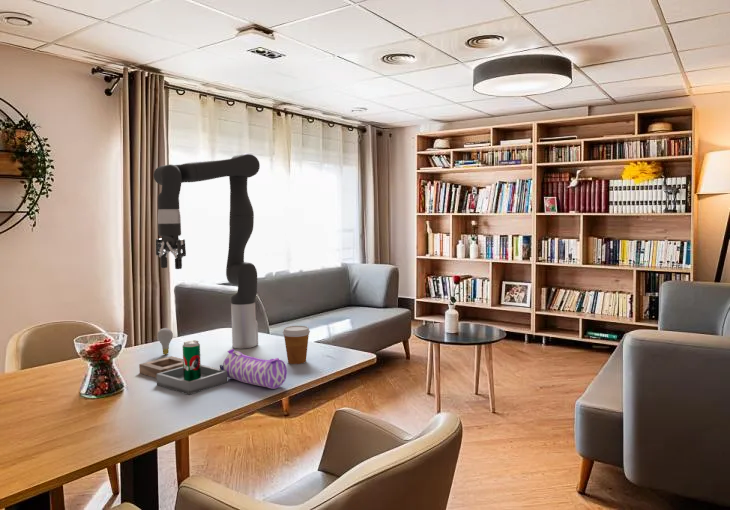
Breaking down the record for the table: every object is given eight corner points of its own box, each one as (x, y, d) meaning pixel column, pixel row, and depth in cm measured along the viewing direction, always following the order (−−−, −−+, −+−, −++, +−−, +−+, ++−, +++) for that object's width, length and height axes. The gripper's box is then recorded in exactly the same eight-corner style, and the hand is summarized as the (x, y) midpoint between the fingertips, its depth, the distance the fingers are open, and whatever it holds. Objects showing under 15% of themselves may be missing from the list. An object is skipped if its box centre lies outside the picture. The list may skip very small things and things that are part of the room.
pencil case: (219, 380, 168) (218, 351, 167) (242, 373, 175) (241, 345, 175) (268, 394, 155) (267, 361, 154) (291, 385, 162) (290, 354, 161)
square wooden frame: (171, 364, 186) (171, 356, 186) (193, 370, 179) (192, 361, 179) (139, 373, 176) (139, 364, 176) (161, 379, 169) (160, 370, 169)
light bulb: (176, 353, 201) (175, 327, 201) (165, 357, 196) (164, 330, 196) (165, 352, 204) (164, 326, 203) (154, 355, 199) (153, 328, 198)
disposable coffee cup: (278, 364, 185) (277, 329, 184) (292, 357, 194) (291, 324, 193) (302, 366, 182) (301, 331, 181) (315, 359, 190) (314, 326, 190)
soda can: (203, 378, 167) (202, 340, 166) (196, 383, 162) (195, 344, 161) (188, 377, 168) (186, 339, 167) (180, 382, 163) (179, 343, 162)
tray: (195, 373, 175) (195, 363, 175) (227, 382, 166) (227, 371, 165) (156, 385, 164) (156, 373, 164) (189, 394, 154) (188, 382, 154)
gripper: (191, 222, 187) (192, 268, 188) (166, 222, 195) (168, 266, 196) (172, 222, 181) (173, 270, 182) (148, 222, 189) (150, 268, 190)
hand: (171, 268), depth 189 cm, fingers open, 8 cm apart
